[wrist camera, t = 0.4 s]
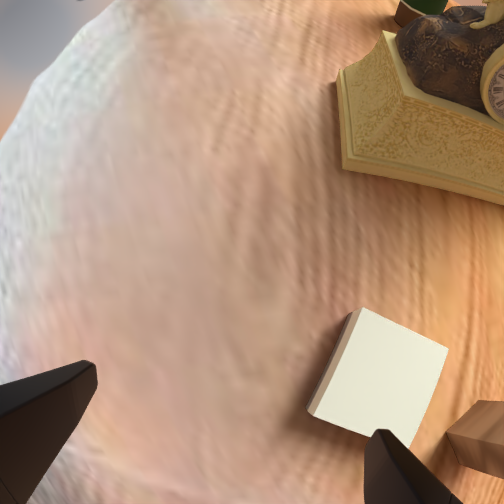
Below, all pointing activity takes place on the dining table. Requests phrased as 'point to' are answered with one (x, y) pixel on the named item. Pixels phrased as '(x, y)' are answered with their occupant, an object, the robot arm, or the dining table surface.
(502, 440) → the walnut pillar
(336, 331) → the dining table surface
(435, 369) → the tower top block
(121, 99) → the dining table surface
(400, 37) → the decorative clock
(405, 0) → the beer bottle
